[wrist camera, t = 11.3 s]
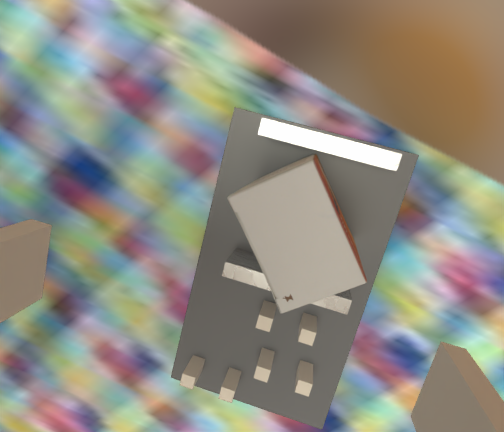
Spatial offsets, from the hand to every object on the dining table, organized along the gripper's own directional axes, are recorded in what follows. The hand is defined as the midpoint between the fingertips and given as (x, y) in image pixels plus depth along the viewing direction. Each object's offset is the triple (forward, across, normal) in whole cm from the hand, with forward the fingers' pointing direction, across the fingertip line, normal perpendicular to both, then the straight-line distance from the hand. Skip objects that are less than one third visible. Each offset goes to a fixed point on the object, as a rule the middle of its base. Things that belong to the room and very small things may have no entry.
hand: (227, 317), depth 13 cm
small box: (+21, +2, 0) cm, 21 cm away
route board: (+22, +2, -6) cm, 23 cm away
